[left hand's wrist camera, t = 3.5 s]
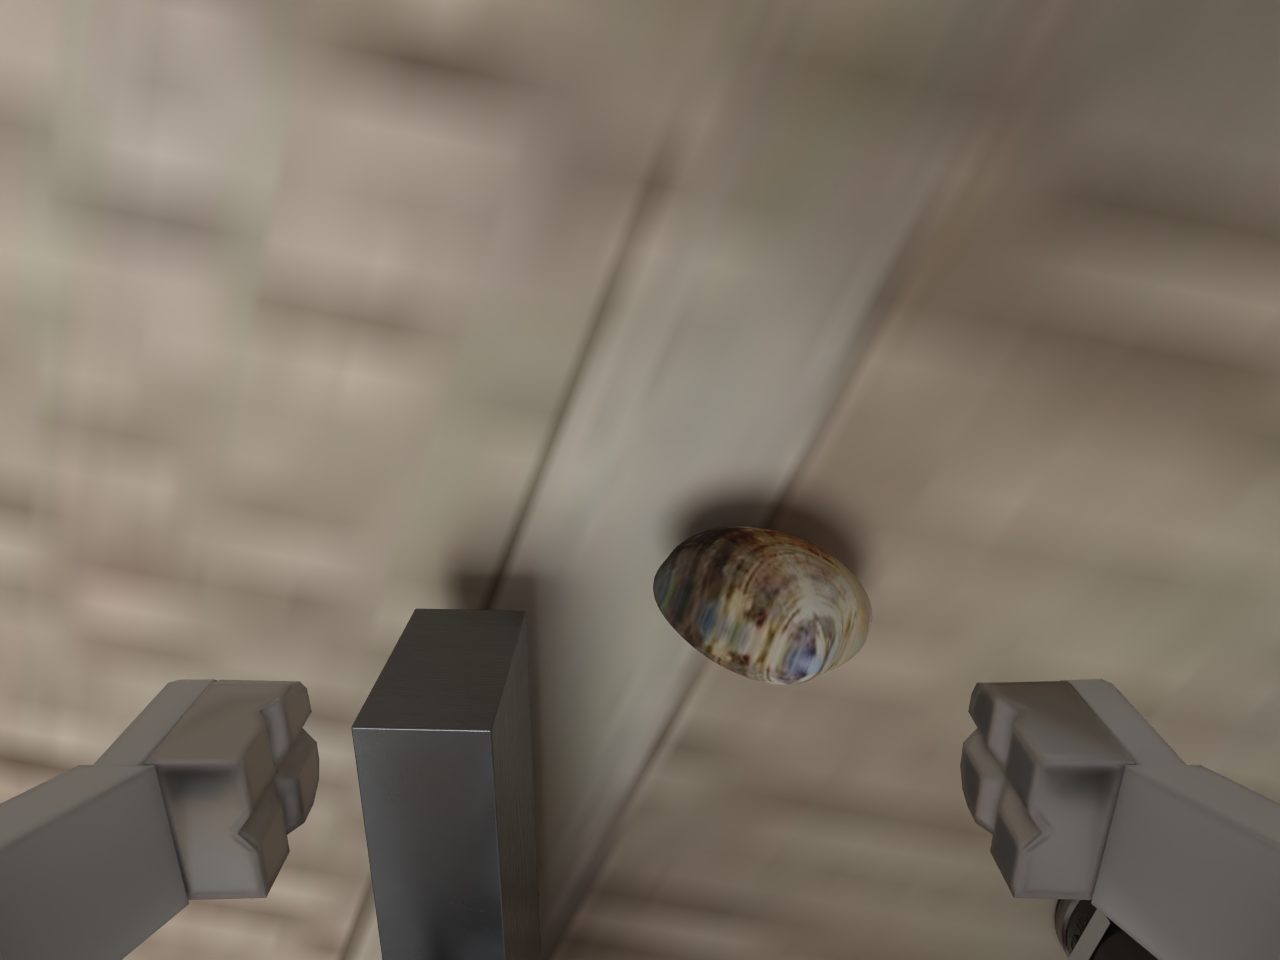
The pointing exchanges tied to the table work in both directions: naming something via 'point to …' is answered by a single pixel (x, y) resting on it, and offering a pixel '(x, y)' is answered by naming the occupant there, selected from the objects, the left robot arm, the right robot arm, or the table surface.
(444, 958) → the bar
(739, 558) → the seashell
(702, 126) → the table surface
